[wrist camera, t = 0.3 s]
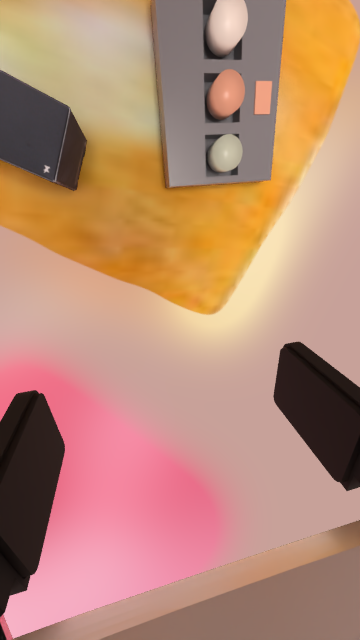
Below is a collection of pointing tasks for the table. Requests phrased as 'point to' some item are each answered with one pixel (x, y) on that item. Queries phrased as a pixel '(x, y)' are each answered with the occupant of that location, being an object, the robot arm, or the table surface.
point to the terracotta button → (225, 94)
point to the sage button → (225, 153)
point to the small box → (39, 133)
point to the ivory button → (226, 26)
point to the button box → (195, 80)
